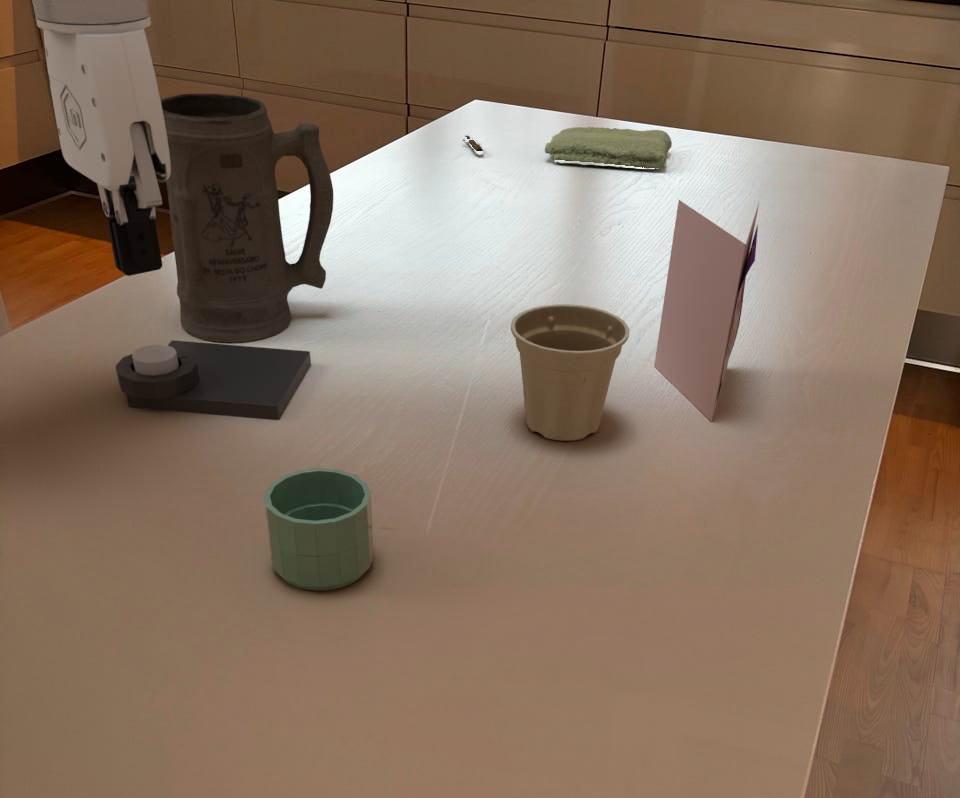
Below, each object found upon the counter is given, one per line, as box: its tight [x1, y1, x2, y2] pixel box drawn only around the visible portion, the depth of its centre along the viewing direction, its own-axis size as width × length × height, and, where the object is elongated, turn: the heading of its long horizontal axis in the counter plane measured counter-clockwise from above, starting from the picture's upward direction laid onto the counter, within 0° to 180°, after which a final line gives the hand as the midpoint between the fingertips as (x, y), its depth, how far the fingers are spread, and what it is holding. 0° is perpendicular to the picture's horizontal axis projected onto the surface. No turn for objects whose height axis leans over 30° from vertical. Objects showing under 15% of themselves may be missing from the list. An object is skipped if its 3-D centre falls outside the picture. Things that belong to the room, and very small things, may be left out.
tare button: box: [131, 344, 179, 376], centre depth 86 cm, size 4×4×1 cm
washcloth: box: [544, 126, 673, 169], centre depth 151 cm, size 13×18×3 cm
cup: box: [263, 467, 374, 591], centre depth 68 cm, size 7×7×6 cm
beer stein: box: [160, 93, 334, 343], centre depth 96 cm, size 15×11×20 cm
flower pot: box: [510, 303, 630, 442], centre depth 84 cm, size 9×9×9 cm
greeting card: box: [653, 199, 760, 422], centre depth 88 cm, size 11×7×15 cm, turn 163°
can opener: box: [462, 134, 484, 152], centre depth 153 cm, size 9×2×1 cm, turn 8°
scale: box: [115, 339, 312, 421], centre depth 89 cm, size 14×12×3 cm
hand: (139, 269), depth 81 cm, fingers closed
